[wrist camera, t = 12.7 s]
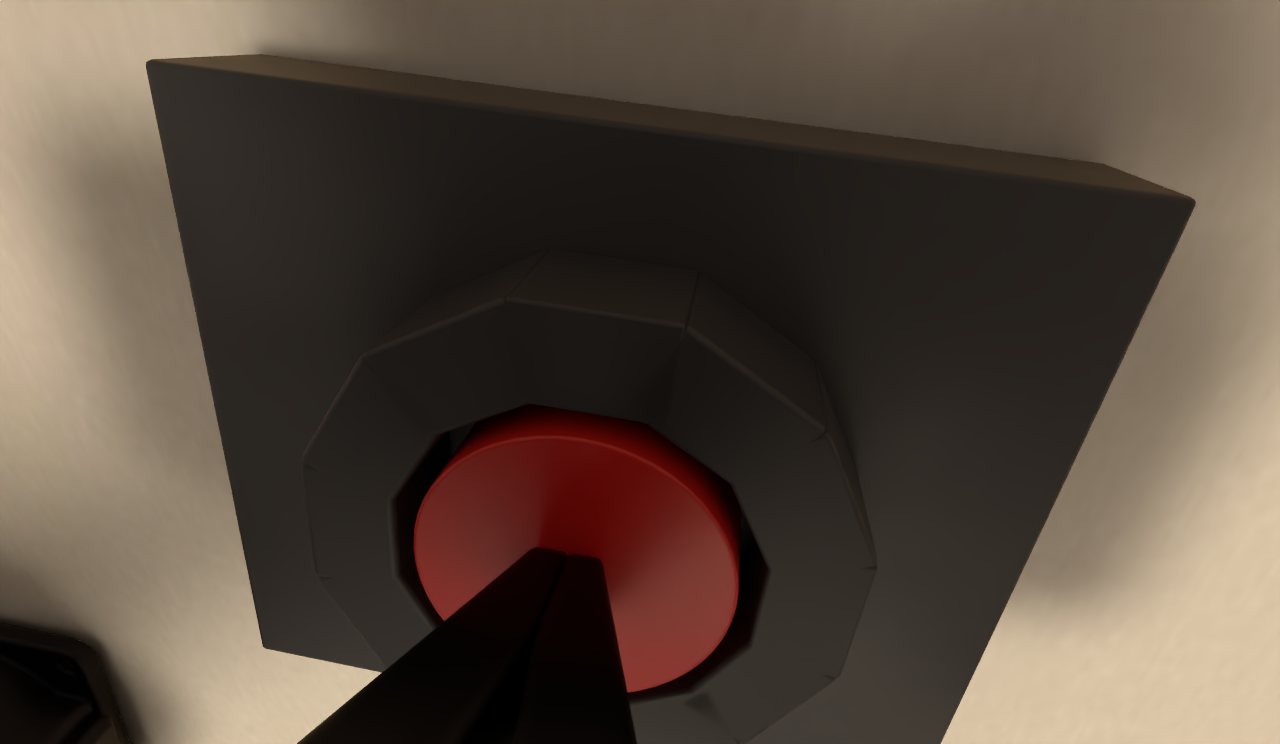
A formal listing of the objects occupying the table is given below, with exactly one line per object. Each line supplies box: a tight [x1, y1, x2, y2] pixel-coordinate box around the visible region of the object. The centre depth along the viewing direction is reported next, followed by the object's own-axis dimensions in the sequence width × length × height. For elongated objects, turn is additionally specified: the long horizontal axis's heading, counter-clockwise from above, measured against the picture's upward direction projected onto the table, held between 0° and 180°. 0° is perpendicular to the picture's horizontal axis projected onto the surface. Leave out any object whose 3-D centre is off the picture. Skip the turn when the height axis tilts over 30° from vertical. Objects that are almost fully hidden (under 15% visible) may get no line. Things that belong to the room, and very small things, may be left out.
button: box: [414, 404, 741, 692], centre depth 9 cm, size 4×4×2 cm
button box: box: [146, 54, 1196, 744], centre depth 10 cm, size 12×10×4 cm
